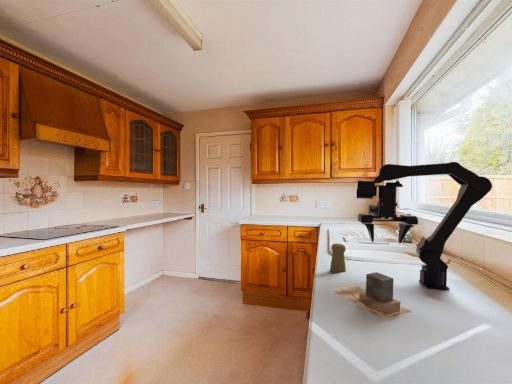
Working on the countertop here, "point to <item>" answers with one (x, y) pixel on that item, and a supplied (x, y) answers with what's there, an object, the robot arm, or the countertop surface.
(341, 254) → the cork
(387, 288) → the sanding block
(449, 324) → the countertop surface
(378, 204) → the robot arm
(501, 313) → the countertop surface
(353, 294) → the pine board
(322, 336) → the countertop surface
